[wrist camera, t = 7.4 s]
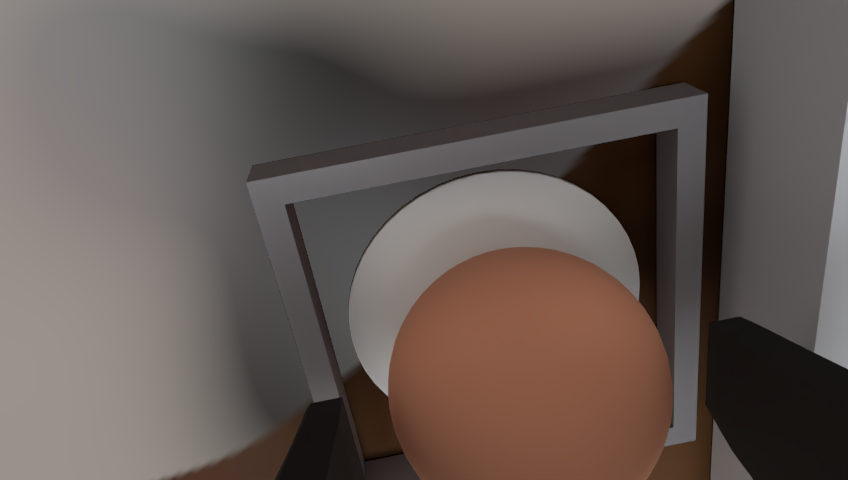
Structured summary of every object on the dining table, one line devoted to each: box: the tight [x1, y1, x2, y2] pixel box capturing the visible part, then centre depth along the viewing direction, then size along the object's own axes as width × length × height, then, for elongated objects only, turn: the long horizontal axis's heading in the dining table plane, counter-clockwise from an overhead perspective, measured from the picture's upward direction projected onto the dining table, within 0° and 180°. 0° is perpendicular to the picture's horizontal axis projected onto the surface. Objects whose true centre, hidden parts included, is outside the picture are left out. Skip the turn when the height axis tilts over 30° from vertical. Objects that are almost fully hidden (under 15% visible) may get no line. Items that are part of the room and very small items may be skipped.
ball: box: [388, 247, 673, 480], centre depth 13 cm, size 6×6×6 cm
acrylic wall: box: [710, 0, 848, 480], centre depth 14 cm, size 16×1×4 cm, turn 9°
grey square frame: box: [246, 82, 708, 480], centre depth 15 cm, size 9×9×1 cm
